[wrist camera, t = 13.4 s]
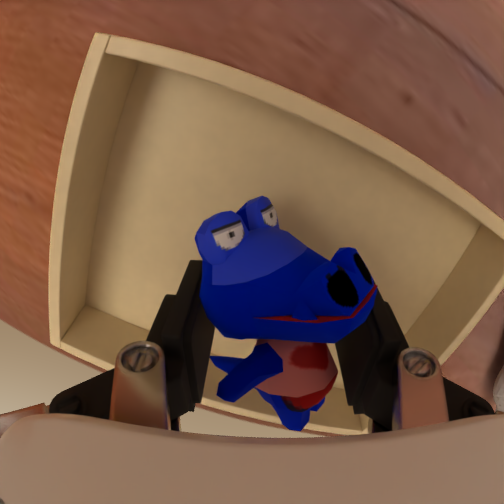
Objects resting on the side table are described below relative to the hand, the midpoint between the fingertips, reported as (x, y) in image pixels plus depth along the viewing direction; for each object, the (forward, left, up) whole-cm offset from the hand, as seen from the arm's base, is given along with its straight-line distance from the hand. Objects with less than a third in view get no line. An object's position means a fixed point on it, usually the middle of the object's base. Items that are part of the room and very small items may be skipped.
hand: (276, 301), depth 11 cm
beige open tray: (0, 0, -3) cm, 3 cm away
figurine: (+3, -3, +2) cm, 5 cm away
